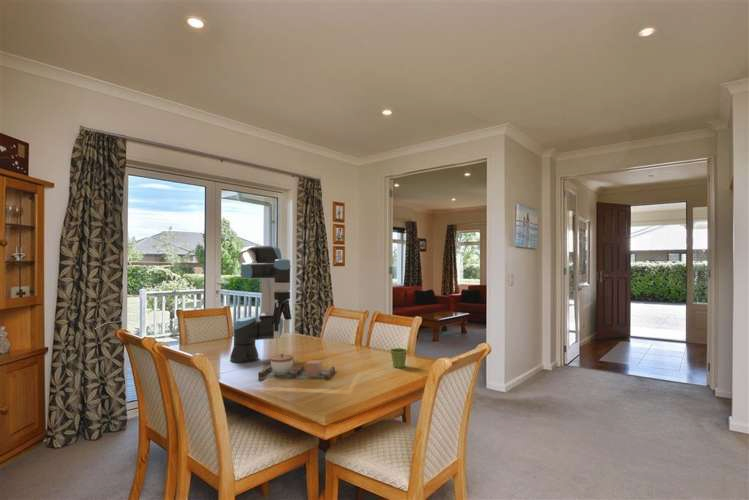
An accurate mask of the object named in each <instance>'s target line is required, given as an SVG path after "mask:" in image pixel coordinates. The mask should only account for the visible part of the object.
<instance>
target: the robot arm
mask: <svg viewBox="0 0 749 500" xmlns="http://www.w3.org/2000/svg"><path fill="white" fill-rule="evenodd" d="M282 258H283V257H282V253H281V249H280V248H279V247H278V246H276V245H250V246H246V247H244V248H242V249H241V250H240V251H238V254H237V262H238V264H239V265H240V272H239V273H240V278H241V279H248V280H249V279H261V313H260V315H259V317H258V318H256V316H245V317H240V318H238V319H236V320H235V321H234V322H233V323H234V324H233V348H232V351H231V354H230V359H229V360H230V362H232V363H241V364H242V363H250V362H254V361H258V360H259V352H258V349H257V346H256V341H259V340H261V341H262V340H273V339H280V338H281V336H282V333H283V334H289V333H290V320H292V313H291V308H290V299H291V292H290V291H291V268H292V267H291V260H290V259H287V258H286V259H285V258H284V259H282ZM282 315H283V317H282ZM283 318H284V319H283Z"/></svg>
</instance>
